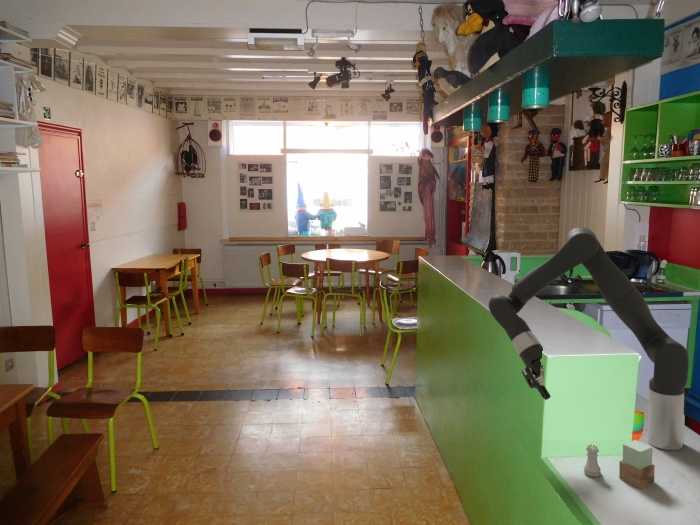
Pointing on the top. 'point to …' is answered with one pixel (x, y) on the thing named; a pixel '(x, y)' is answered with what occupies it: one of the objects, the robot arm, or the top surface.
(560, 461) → the top surface
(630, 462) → the sage top block
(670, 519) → the top surface
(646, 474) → the walnut base block
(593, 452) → the rook chess piece
